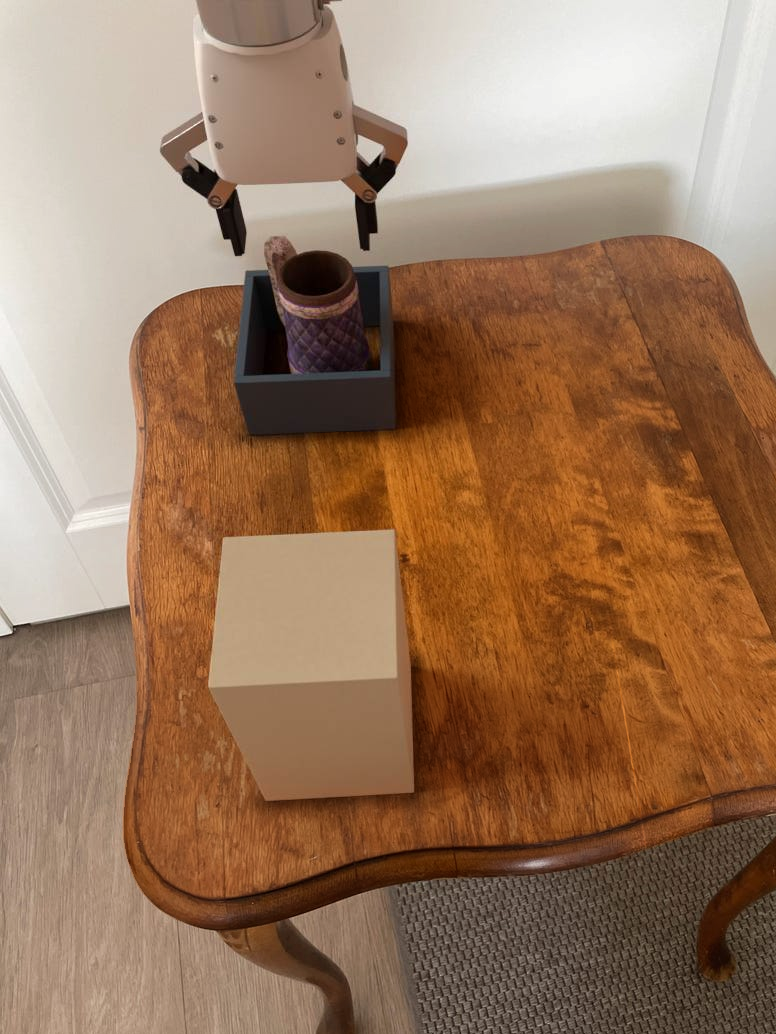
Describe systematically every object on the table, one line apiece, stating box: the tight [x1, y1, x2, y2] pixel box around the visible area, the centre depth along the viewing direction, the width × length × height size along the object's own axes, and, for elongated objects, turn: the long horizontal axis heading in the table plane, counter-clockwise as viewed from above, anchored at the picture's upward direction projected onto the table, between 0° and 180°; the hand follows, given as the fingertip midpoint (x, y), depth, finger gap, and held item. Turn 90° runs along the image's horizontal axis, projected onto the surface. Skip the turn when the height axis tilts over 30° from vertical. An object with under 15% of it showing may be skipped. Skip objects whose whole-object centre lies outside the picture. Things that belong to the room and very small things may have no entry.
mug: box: [263, 235, 372, 374], centre depth 79 cm, size 10×7×12 cm
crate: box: [233, 265, 397, 436], centre depth 82 cm, size 13×14×6 cm
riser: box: [207, 528, 415, 802], centre depth 59 cm, size 10×10×16 cm
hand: (303, 242), depth 73 cm, fingers open, 9 cm apart
